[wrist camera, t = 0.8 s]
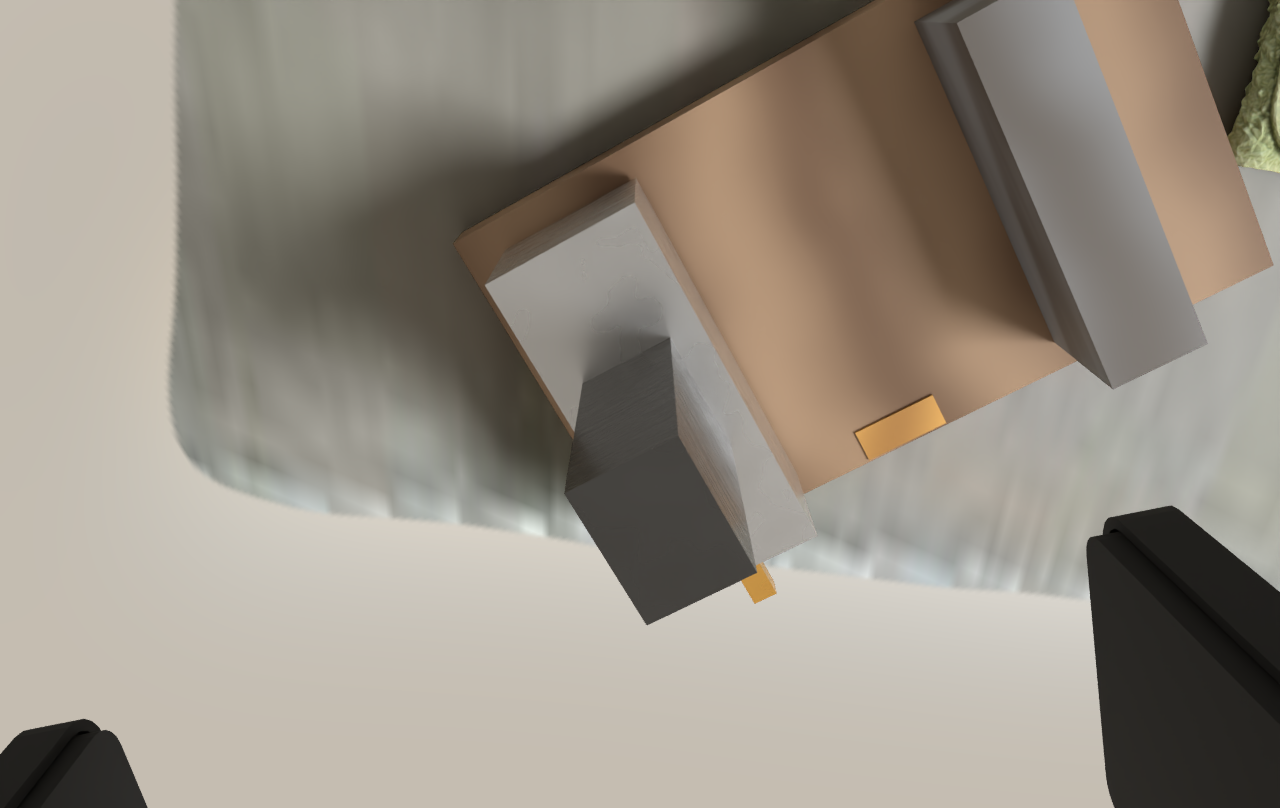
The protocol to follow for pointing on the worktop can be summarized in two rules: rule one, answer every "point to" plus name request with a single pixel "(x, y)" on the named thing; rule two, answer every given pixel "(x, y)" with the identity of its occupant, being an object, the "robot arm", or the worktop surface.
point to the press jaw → (650, 408)
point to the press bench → (936, 212)
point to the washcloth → (1261, 104)
